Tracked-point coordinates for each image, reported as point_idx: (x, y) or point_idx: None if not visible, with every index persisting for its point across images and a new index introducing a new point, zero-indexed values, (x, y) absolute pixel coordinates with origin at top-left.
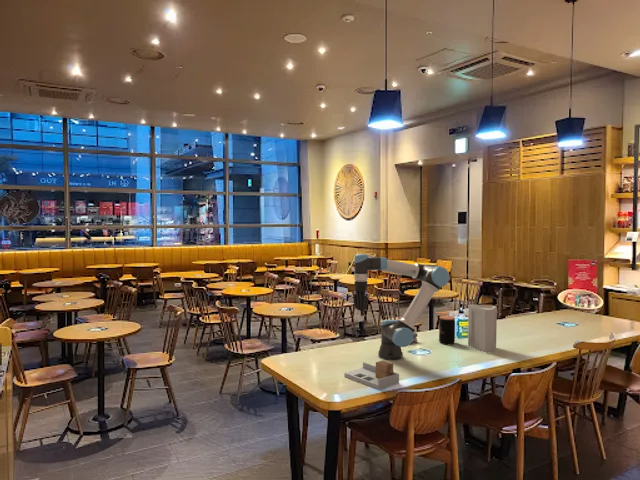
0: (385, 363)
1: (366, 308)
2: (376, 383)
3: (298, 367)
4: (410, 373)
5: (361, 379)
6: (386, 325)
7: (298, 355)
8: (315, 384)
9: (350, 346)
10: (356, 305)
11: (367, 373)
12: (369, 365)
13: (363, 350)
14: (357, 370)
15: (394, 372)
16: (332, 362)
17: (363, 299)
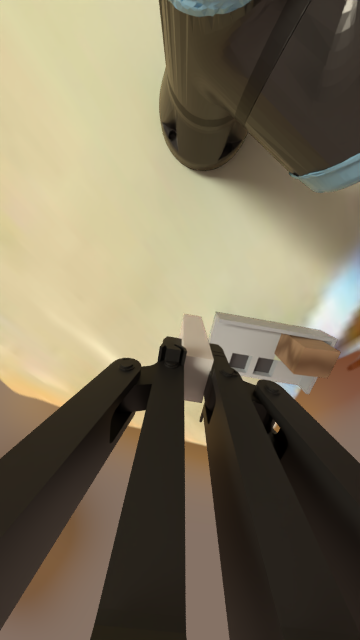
0: (320, 366)
1: (283, 395)
2: (291, 379)
3: (92, 379)
4: (326, 248)
5: (253, 377)
6: (240, 17)
7: (11, 317)
8: (186, 421)
9: (7, 98)
10: (123, 425)
11: (246, 343)
12: (242, 325)
13: (82, 115)
14: (216, 341)
15: (324, 338)
16: (114, 307)
17: (318, 618)
